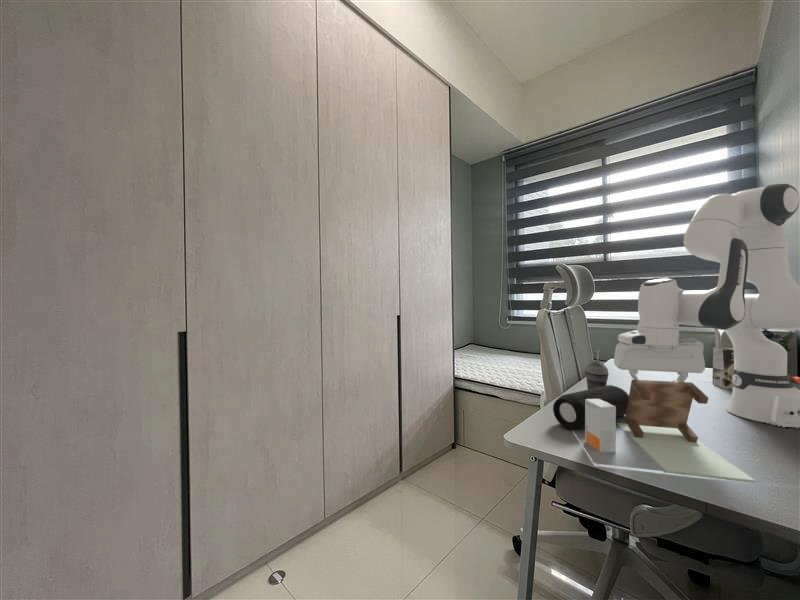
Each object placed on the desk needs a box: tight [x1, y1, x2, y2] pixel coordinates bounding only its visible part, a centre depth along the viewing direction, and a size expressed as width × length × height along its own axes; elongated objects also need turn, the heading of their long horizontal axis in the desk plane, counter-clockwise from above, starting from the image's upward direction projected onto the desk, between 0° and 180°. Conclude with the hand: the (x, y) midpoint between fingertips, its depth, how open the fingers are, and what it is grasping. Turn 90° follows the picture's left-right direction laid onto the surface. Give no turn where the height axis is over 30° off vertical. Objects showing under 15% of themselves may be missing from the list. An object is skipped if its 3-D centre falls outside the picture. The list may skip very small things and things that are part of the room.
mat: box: [616, 422, 756, 483], centre depth 80 cm, size 16×26×1 cm, turn 165°
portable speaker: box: [552, 384, 629, 430], centre depth 97 cm, size 26×10×10 cm, turn 115°
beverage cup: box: [584, 349, 610, 390], centre depth 111 cm, size 7×7×20 cm
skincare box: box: [584, 399, 617, 453], centre depth 81 cm, size 6×4×12 cm
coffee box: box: [712, 346, 734, 390], centre depth 129 cm, size 9×6×16 cm
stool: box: [624, 379, 709, 443], centre depth 84 cm, size 14×7×14 cm, turn 75°
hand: (657, 386), depth 87 cm, fingers open, 8 cm apart
